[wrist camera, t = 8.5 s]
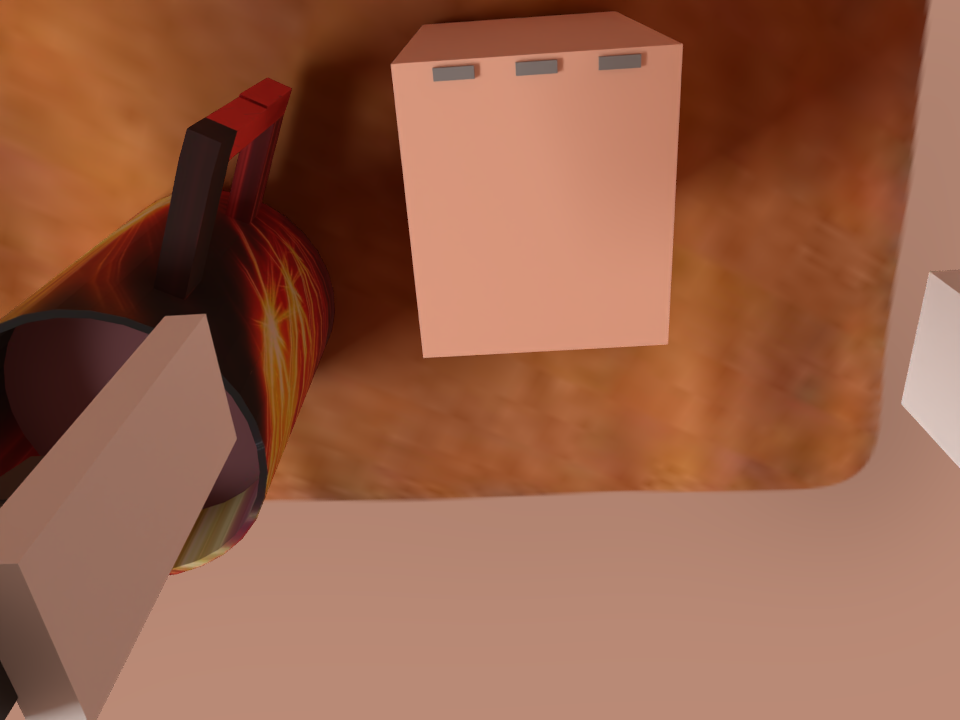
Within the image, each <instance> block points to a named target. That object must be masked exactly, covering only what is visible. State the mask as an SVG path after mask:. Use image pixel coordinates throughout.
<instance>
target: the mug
mask: <svg viewBox="0 0 960 720" xmlns="http://www.w3.org/2000/svg"><path fill="white" fill-rule="evenodd" d="M291 91H292V88H290V87H288V86H285V85H283V84H281V83H279V82H276V81H274V80H272V79H270V78H266V79H264V80H262V81H261V82H259V83H257V84H256V85H254V86H252V87H251V88H249V89H247V90H246V91H244V92H242V93H241V94H240V95H239V97H238V98H236V99H235V100H233V101H232V102H230V103H228V104H227V105H225V106H223V107H222V108H220V109H218V110H217V111H215V112H213V113H212V114H210V115H209V116H207V117H205V118H204V119H202V120H200V121H199V122H197V123H195V124H194V125H192V126H190V127H189V128H187V131H186V135H185V138H184V142H183V146H182V150H181V153H180V157H179V161H178V166H177V171H176V176H175V181H174V187H173V192H172V195H170V196H167V197H165V198H162V199H160V200H157V201H155V202H154V203H152V204H151V205H149V206H148V207H147V208H145V209H144V210H142V211H141V212H139V213H138V214H137V215H135V216H134V217H133V218H132V219H130V220H129V221H128V222H126V223H125V224H124V225H122V226H121V227H120V228H118V229H117V230H116V231H115V232H113V233H112V234H111V235H109V236H108V237H107V238H105V239H104V240H103V241H102V242H100V243H99V244H98V245H96V246H95V247H94V248H92V249H91V250H90V251H88V252H87V253H86V254H85V255H83V256H82V257H81V258H79V259H78V260H77V261H75V262H74V263H73V264H71V265H70V266H69V267H68V268H66V269H65V270H64V271H62V272H61V273H60V274H58V275H57V276H56V277H55V278H53V279H52V280H51V281H49V282H48V283H47V284H45V285H44V286H43V287H41V288H40V289H39V290H38V291H36V292H35V293H34V294H32V295H31V296H30V297H28V298H27V299H26V300H25V301H23V302H22V303H21V304H19V305H18V306H17V307H15V308H14V309H13V310H11V311H10V312H9V313H8V314H6V315H5V316H4V317H2V318H1V319H0V477H1V476H2V475H4V474H5V473H7V472H8V471H10V470H11V469H13V468H14V467H16V466H17V465H19V464H20V463H22V462H23V461H25V460H26V459H28V458H29V457H31V456H45V455H46V454H47V453H48V452H49V451H50V450H51V449H52V447H53V446H54V445H55V444H56V443H57V442H58V440H59V439H60V438H61V437H62V436H63V435H64V433H65V432H66V431H67V430H68V429H69V428H70V426H71V425H72V424H73V423H74V422H75V421H76V419H77V418H78V417H79V416H80V415H81V414H82V412H83V411H84V410H85V409H86V408H87V407H88V405H89V404H90V403H91V402H92V401H93V400H94V398H95V397H96V396H97V395H98V394H99V393H100V391H101V390H102V389H103V388H104V387H105V386H106V384H107V383H108V382H109V381H110V380H111V379H112V377H113V376H114V375H115V374H116V373H117V372H118V370H119V369H120V368H121V367H122V366H123V365H124V363H125V362H126V361H127V360H128V359H129V358H130V356H131V355H132V354H133V353H134V352H135V351H136V349H137V348H138V347H139V346H140V345H141V344H142V342H143V341H144V340H145V339H146V338H147V337H148V335H149V334H150V333H151V332H152V331H153V330H154V328H155V327H156V326H157V325H158V324H159V323H160V321H161V320H162V319H163V318H164V317H165V316H177V315H194V314H206V317H207V321H208V325H209V329H210V333H211V337H212V341H213V345H214V349H215V353H216V357H217V361H218V365H219V369H220V373H221V377H222V381H223V385H224V389H225V393H226V397H227V401H228V405H229V409H230V413H231V417H232V421H233V425H234V429H235V433H236V437H237V440H236V442H235V444H234V446H233V448H232V450H231V452H230V454H229V456H228V458H227V460H226V462H225V464H224V466H223V468H222V470H221V472H220V474H219V476H218V478H217V480H216V482H215V484H214V486H213V488H212V490H211V492H210V494H209V496H208V498H207V500H206V502H205V504H204V506H203V508H202V510H201V512H200V514H199V516H198V518H197V520H196V522H195V524H194V526H193V528H192V530H191V532H190V534H189V536H188V538H187V540H186V542H185V544H184V546H183V548H182V550H181V552H180V554H179V556H178V558H177V560H176V562H175V564H174V566H173V568H172V570H171V572H170V574H169V575H174V574H179V573H182V572H185V571H188V570H192V569H195V568H198V567H201V566H203V565H205V564H207V563H209V562H211V561H213V560H214V559H216V558H218V557H220V556H222V555H224V554H225V553H226V552H227V551H228V550H230V549H231V548H232V547H233V546H234V545H236V544H237V543H238V542H239V541H240V540H241V539H243V537H244V536H245V534H246V533H247V532H248V530H249V529H250V528H251V526H252V525H253V523H254V522H255V521H256V519H257V517H258V514H259V512H260V509H261V507H262V504H263V502H264V499H265V497H266V494H267V492H268V489H269V487H270V484H271V482H272V479H273V477H274V474H275V472H276V469H277V467H278V464H279V462H280V459H281V457H282V454H283V452H284V449H285V447H286V444H287V442H288V439H289V437H290V434H291V432H292V429H293V427H294V424H295V422H296V419H297V417H298V414H299V412H300V409H301V407H302V404H303V402H304V399H305V397H306V394H307V392H308V389H309V387H310V384H311V382H312V379H313V377H314V374H315V372H316V369H317V367H318V364H319V362H320V359H321V357H322V354H323V352H324V349H325V347H326V344H327V342H328V339H329V336H330V334H331V331H332V326H333V320H334V313H335V307H334V291H333V288H332V284H331V281H330V277H329V273H328V270H327V268H326V266H325V264H324V263H323V261H322V259H321V257H320V255H319V253H318V251H317V250H316V248H315V247H314V246H313V244H312V243H311V242H310V240H309V239H308V238H307V237H306V235H305V234H304V233H303V232H302V231H301V230H300V229H299V228H298V227H297V226H296V225H294V224H293V223H292V222H291V221H290V220H289V219H288V218H287V217H285V216H284V215H282V214H281V213H279V212H277V211H276V210H274V209H273V208H271V207H270V206H268V205H266V204H264V203H262V199H263V195H264V191H265V187H266V183H267V179H268V175H269V171H270V167H271V163H272V159H273V155H274V151H275V148H276V144H277V140H278V136H279V132H280V128H281V124H282V120H283V116H284V113H285V110H286V107H287V104H288V100H289V97H290V94H291ZM237 153H239V156H238V160H237V165H236V169H235V173H234V178H233V182H232V186H231V191H230V192H227V191H222V188H223V184H224V179H225V175H226V170H227V166H228V162H229V160H230V159H231V158H232V157H234V156H235V155H236V154H237Z"/></svg>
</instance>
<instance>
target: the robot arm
mask: <svg viewBox="0 0 960 720" xmlns="http://www.w3.org/2000/svg"><path fill="white" fill-rule="evenodd" d="M901 404H902V405H903V406H904V407H905V408H906V409H907V411H908V412H909V413H910V414H911V415H912V416H913V417H914V418H915V419H916V421H918V423H919V424H920V425H921V426H922V427H923V428H924V429H925V430H926V432H927V433H928V434H929V435H930V436H931V437H932V438H933V439H934V440H935V441H936V442H937V444H938V445H939V446H940V447H941V448H942V449H943V450H944V451H945V452H946V453H947V455H948V456H949V457H950V458H951V459H952V460H953V461H954V462H955V463H956V464H957V466H958V467H959V468H960V270H947V271H930V272H929V276H928V280H927V285H926V290H925V294H924V299H923V304H922V309H921V313H920V318H919V323H918V327H917V332H916V337H915V341H914V346H913V351H912V355H911V360H910V365H909V369H908V374H907V379H906V383H905V388H904V393H903V398H902V403H901ZM236 440H237V437H236V433H235V429H234V425H233V421H232V417H231V413H230V409H229V405H228V401H227V397H226V393H225V389H224V385H223V381H222V377H221V373H220V369H219V365H218V361H217V357H216V353H215V349H214V345H213V341H212V337H211V333H210V329H209V325H208V321H207V317H206V314H194V315H177V316H165V317H164V318H163V319H162V320H161V321H160V323H159V324H158V325H157V326H156V327H155V328H154V330H153V331H152V332H151V333H150V334H149V335H148V337H147V338H146V339H145V340H144V341H143V342H142V344H141V345H140V346H139V347H138V348H137V349H136V351H135V352H134V353H133V354H132V355H131V356H130V358H129V359H128V360H127V361H126V362H125V363H124V365H123V366H122V367H121V368H120V369H119V370H118V372H117V373H116V374H115V375H114V376H113V377H112V379H111V380H110V381H109V382H108V383H107V384H106V386H105V387H104V388H103V389H102V390H101V391H100V393H99V394H98V395H97V396H96V397H95V398H94V400H93V401H92V402H91V403H90V404H89V405H88V407H87V408H86V409H85V410H84V411H83V412H82V414H81V415H80V416H79V417H78V418H77V419H76V421H75V422H74V423H73V424H72V425H71V426H70V428H69V429H68V430H67V431H66V432H65V433H64V435H63V436H62V437H61V438H60V439H59V440H58V442H57V443H56V444H55V445H54V446H53V447H52V449H51V450H50V451H49V452H48V453H47V454H46V455H45V456H31V457H29V458H28V459H26V460H25V461H23V462H22V463H20V464H19V465H17V466H16V467H14V468H13V469H11V470H10V471H8V472H7V473H5V474H4V475H2V476H1V477H0V720H5V718H6V717H7V715H8V714H9V712H10V710H11V709H12V707H13V706H14V704H15V702H16V701H17V703H18V705H19V707H20V709H21V710H22V713H23V715H24V717H25V719H26V720H97V718H98V716H99V714H100V712H101V710H102V708H103V706H104V704H105V702H106V700H107V698H108V696H109V694H110V692H111V690H112V688H113V686H114V684H115V682H116V680H117V678H118V676H119V674H120V672H121V669H122V668H123V666H124V664H125V662H126V660H127V658H128V656H129V654H130V652H131V650H132V648H133V646H134V644H135V642H136V640H137V638H138V636H139V634H140V632H141V630H142V628H143V626H144V624H145V622H146V620H147V618H148V616H149V614H150V612H151V610H152V608H153V606H154V604H155V602H156V600H157V598H158V596H159V594H160V592H161V590H162V588H163V586H164V584H165V582H166V580H167V578H168V576H169V574H170V572H171V570H172V568H173V566H174V564H175V562H176V560H177V558H178V556H179V554H180V552H181V550H182V548H183V546H184V544H185V542H186V540H187V538H188V536H189V534H190V532H191V530H192V528H193V526H194V524H195V522H196V520H197V518H198V516H199V514H200V512H201V510H202V508H203V506H204V504H205V502H206V500H207V498H208V496H209V494H210V492H211V490H212V488H213V486H214V484H215V482H216V480H217V478H218V476H219V474H220V472H221V470H222V468H223V466H224V464H225V462H226V460H227V458H228V456H229V454H230V452H231V450H232V448H233V446H234V444H235V442H236Z"/></svg>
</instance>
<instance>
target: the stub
mask: <svg viewBox="0 0 960 720" xmlns="http://www.w3.org/2000/svg"><path fill="white" fill-rule="evenodd" d="M682 53H683V44H682V43H680V42H678V41H676V40H674V39H672V38H669V37H667V36H665V35H663V34H661V33H659V32H657V31H655V30H653V29H651V28H649V27H647V26H645V25H643V24H641V23H639V22H637V21H635V20H633V19H631V18H629V17H626V16H624V15H622V14H620V13H618V12H616V11H611V12H596V13H582V14H568V15H554V16H540V17H525V18H511V19H497V20H483V21H468V22H454V23H440V24H426V25H422V26H421V28H420V29H419V30H418V31H417V33H416V34H415V35H414V36H413V37H412V39H411V40H410V41H409V42H408V44H407V45H406V46H405V47H404V48H403V50H402V51H401V52H400V53H399V55H398V56H397V57H396V58H395V60H394V61H393V62H392V63H391V71H392V80H393V89H394V98H395V107H396V116H397V125H398V134H399V143H400V152H401V161H402V170H403V179H404V188H405V197H406V206H407V215H408V224H409V233H410V242H411V251H412V260H413V269H414V278H415V287H416V296H417V305H418V314H419V323H420V332H421V341H422V350H423V358H429V357H448V356H466V355H484V354H502V353H520V352H538V351H556V350H574V349H593V348H611V347H629V346H647V345H665V344H668V332H669V312H670V292H671V272H672V252H673V232H674V212H675V192H676V172H677V152H678V132H679V112H680V92H681V72H682Z"/></svg>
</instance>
